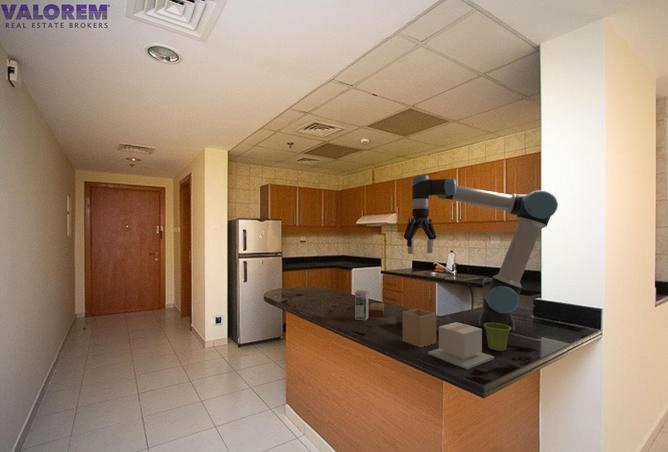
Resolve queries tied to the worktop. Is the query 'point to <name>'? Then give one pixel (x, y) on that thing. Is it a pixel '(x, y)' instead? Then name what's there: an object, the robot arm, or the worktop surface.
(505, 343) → the plant pot
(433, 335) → the brown open box
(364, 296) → the syrup box
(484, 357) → the board
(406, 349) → the worktop surface
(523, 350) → the worktop surface
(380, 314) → the carton
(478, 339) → the off-white cube block
